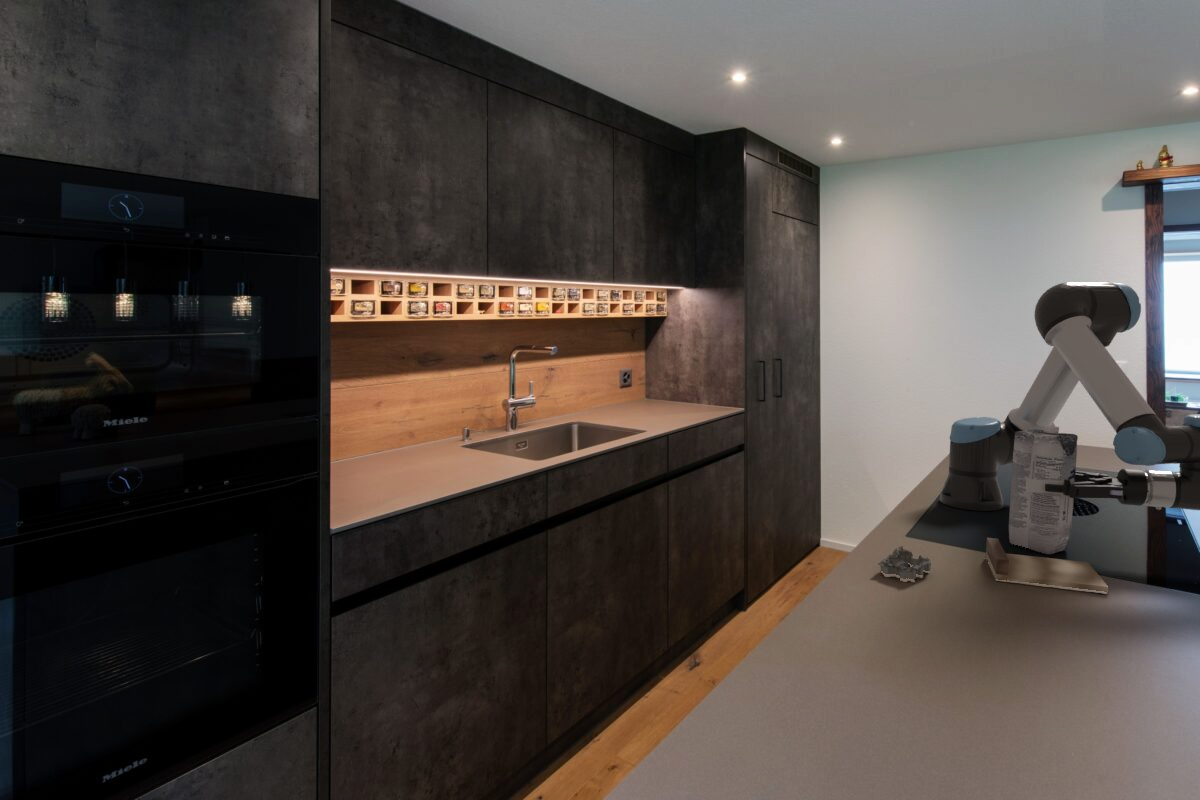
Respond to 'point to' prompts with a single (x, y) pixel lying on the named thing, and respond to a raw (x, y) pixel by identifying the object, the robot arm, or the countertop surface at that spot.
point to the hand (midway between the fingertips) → (1021, 479)
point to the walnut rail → (997, 556)
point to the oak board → (1051, 572)
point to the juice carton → (1042, 514)
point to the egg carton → (904, 564)
